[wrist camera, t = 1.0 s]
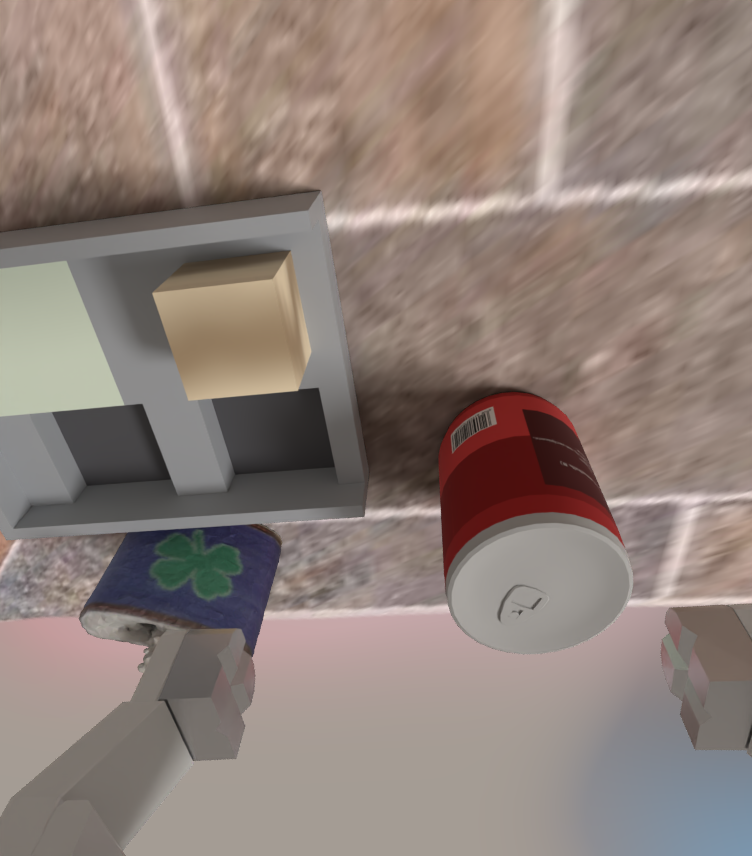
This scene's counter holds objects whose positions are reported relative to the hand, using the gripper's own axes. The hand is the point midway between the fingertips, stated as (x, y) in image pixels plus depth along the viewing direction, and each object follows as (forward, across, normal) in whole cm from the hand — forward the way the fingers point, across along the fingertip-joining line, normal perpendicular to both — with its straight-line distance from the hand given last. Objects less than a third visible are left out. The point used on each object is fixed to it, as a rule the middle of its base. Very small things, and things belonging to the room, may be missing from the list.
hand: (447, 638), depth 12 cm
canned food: (+22, -4, +9) cm, 24 cm away
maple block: (+19, +8, -1) cm, 21 cm away
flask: (+22, +15, +14) cm, 30 cm away
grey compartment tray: (+21, +15, +2) cm, 26 cm away
